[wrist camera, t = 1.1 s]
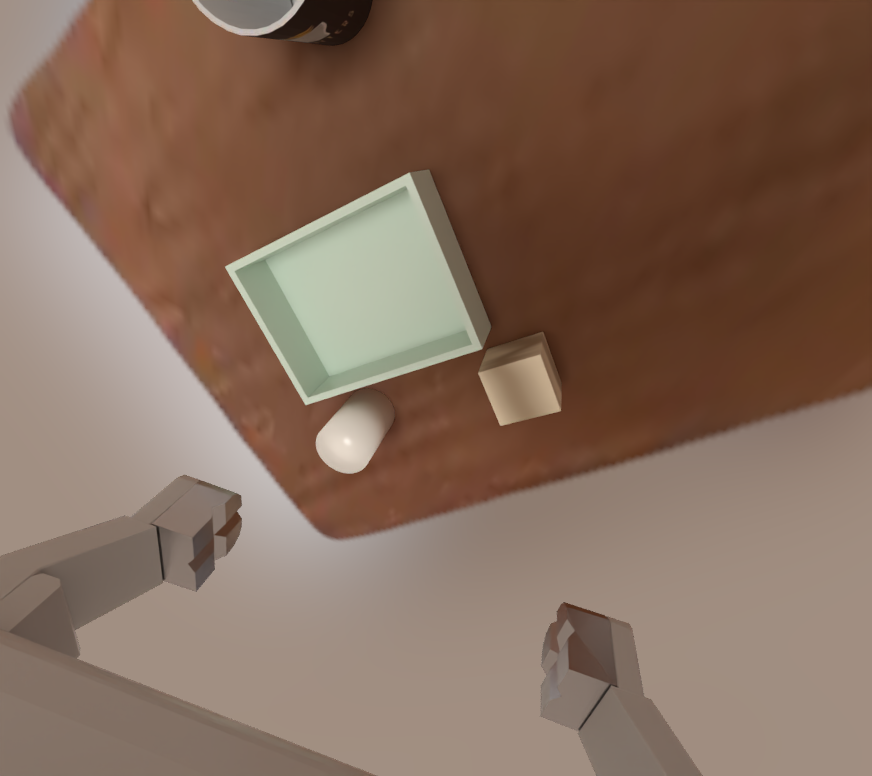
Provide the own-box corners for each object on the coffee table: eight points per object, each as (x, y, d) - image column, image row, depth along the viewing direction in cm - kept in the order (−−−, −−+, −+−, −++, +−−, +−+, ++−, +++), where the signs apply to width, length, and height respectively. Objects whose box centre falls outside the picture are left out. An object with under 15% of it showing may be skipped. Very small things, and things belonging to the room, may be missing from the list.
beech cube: (543, 331, 38) (540, 354, 34) (561, 382, 40) (560, 411, 36) (487, 348, 40) (478, 372, 36) (507, 397, 42) (500, 425, 38)
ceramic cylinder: (381, 382, 45) (352, 419, 39) (403, 425, 46) (378, 467, 40) (339, 395, 46) (305, 432, 40) (361, 436, 48) (332, 477, 42)
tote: (428, 169, 35) (409, 172, 30) (491, 326, 39) (482, 349, 35) (260, 254, 41) (224, 266, 37) (330, 380, 46) (305, 405, 42)
